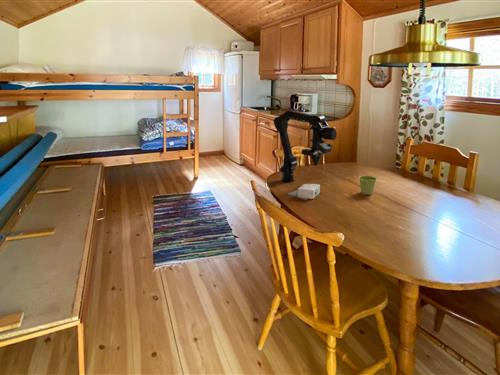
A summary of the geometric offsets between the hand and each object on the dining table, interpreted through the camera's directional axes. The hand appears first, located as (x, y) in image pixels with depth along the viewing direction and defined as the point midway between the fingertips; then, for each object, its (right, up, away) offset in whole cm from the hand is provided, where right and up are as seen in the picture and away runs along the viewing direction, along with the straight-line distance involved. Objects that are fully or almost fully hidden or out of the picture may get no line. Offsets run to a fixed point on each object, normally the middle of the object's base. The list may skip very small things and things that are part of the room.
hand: (315, 165), depth 208 cm
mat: (-9, -17, -9) cm, 21 cm away
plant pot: (+26, -16, -8) cm, 32 cm away
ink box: (-3, -13, -7) cm, 15 cm away
